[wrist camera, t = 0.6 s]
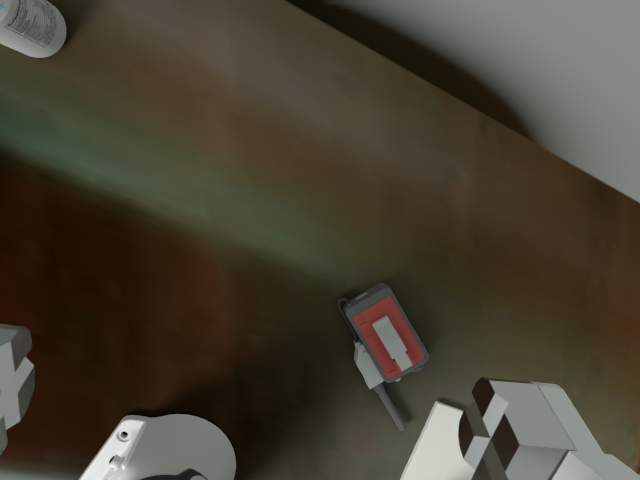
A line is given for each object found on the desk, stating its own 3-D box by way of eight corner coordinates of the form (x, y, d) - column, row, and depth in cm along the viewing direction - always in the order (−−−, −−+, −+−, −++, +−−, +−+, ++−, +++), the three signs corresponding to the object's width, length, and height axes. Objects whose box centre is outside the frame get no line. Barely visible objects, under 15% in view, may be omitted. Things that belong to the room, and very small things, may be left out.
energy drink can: (12, -5, 55) (-78, -64, 40) (71, 6, 56) (4, -47, 41) (9, 54, 56) (-81, 17, 41) (67, 63, 56) (0, 31, 42)
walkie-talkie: (320, 305, 65) (394, 429, 69) (324, 316, 60) (403, 447, 64) (380, 270, 65) (450, 395, 69) (389, 278, 61) (463, 411, 65)
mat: (481, 523, 72) (483, 526, 71) (392, 495, 70) (393, 498, 69) (525, 432, 71) (527, 435, 70) (435, 400, 68) (437, 402, 68)
